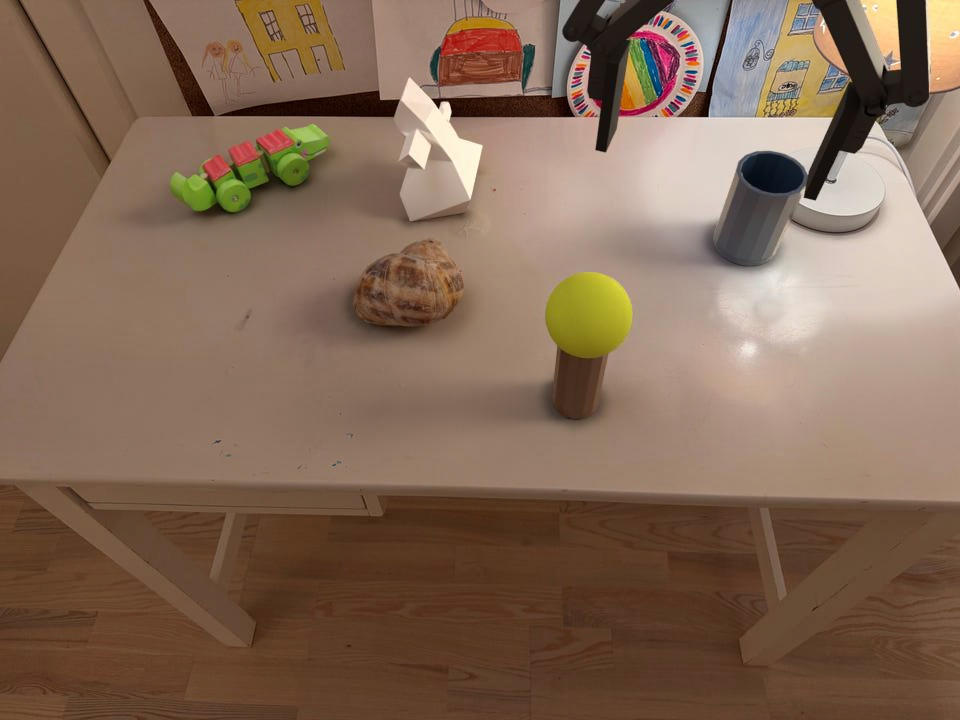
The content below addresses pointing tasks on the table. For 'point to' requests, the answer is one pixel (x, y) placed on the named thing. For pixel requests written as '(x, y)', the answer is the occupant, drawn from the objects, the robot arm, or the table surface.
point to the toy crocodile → (251, 168)
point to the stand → (577, 384)
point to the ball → (588, 315)
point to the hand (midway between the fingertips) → (705, 162)
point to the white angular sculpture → (433, 158)
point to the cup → (759, 207)
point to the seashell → (409, 286)
